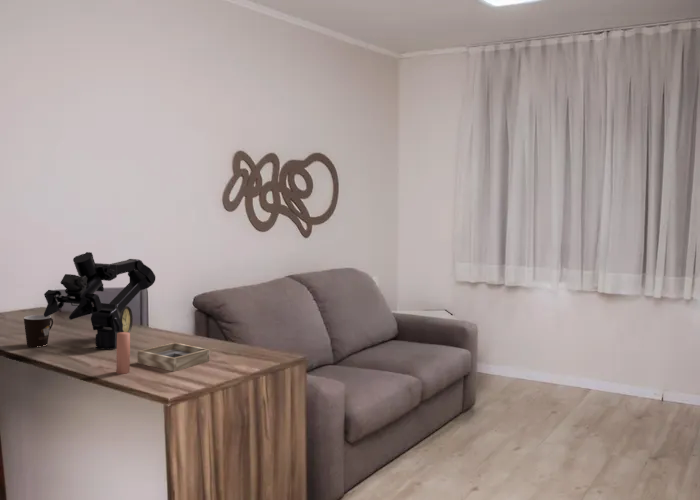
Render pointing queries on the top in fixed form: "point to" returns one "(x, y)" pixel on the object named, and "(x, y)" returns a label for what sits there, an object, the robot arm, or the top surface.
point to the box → (173, 356)
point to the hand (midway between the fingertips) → (57, 317)
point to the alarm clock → (126, 319)
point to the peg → (123, 353)
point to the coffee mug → (37, 329)
